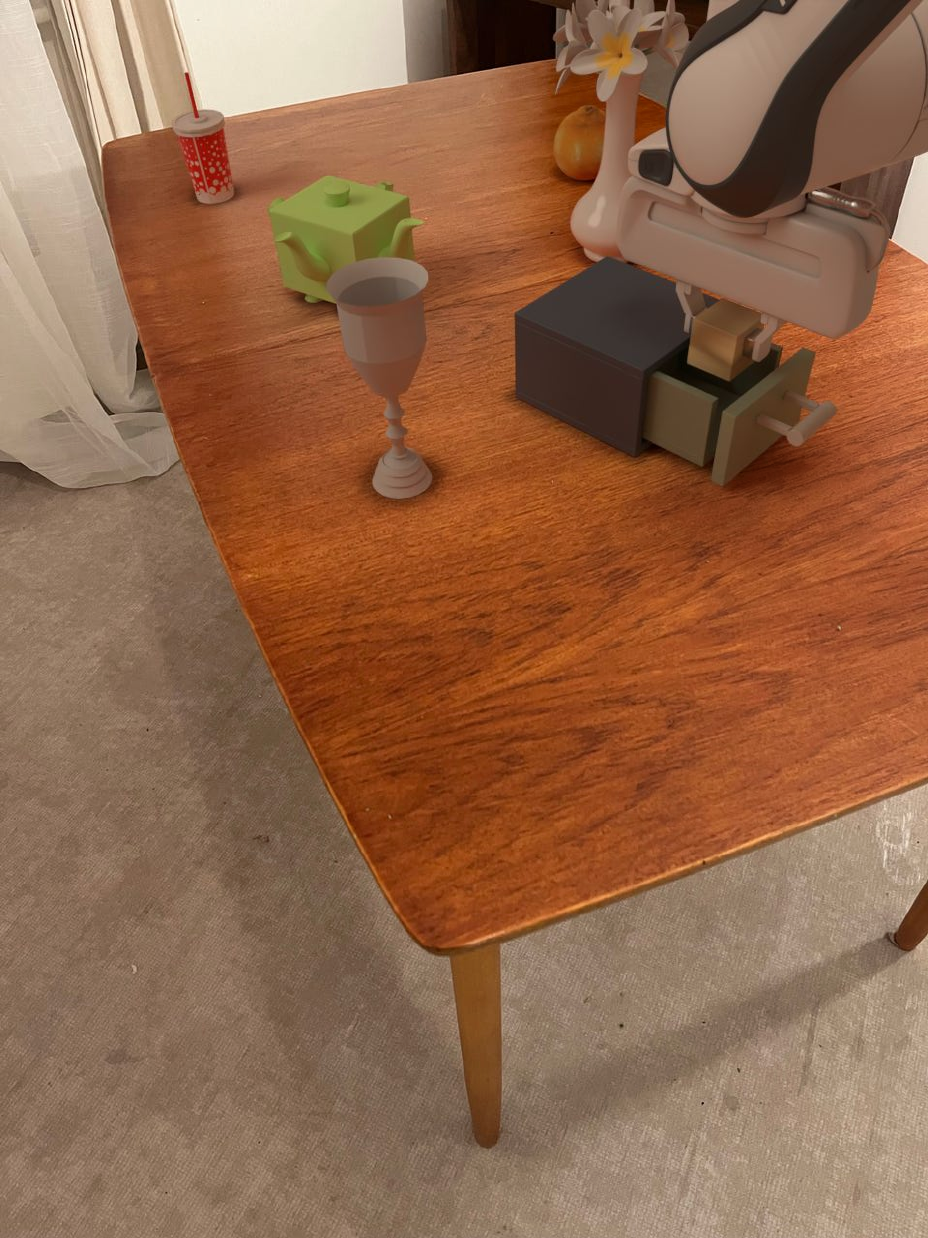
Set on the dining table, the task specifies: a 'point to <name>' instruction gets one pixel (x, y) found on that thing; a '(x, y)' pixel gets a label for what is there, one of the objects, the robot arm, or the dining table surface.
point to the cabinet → (599, 349)
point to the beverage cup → (205, 151)
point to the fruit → (580, 143)
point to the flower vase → (614, 97)
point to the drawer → (731, 410)
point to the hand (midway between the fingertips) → (725, 343)
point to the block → (722, 338)
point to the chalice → (386, 352)
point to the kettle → (338, 231)
